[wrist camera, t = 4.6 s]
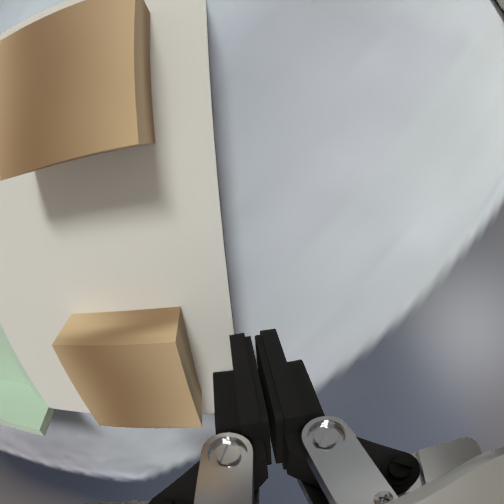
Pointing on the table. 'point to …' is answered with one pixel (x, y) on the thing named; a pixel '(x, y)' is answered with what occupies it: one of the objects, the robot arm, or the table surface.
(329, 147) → the table surface
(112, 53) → the tile
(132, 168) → the board
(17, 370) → the tray
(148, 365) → the tile
